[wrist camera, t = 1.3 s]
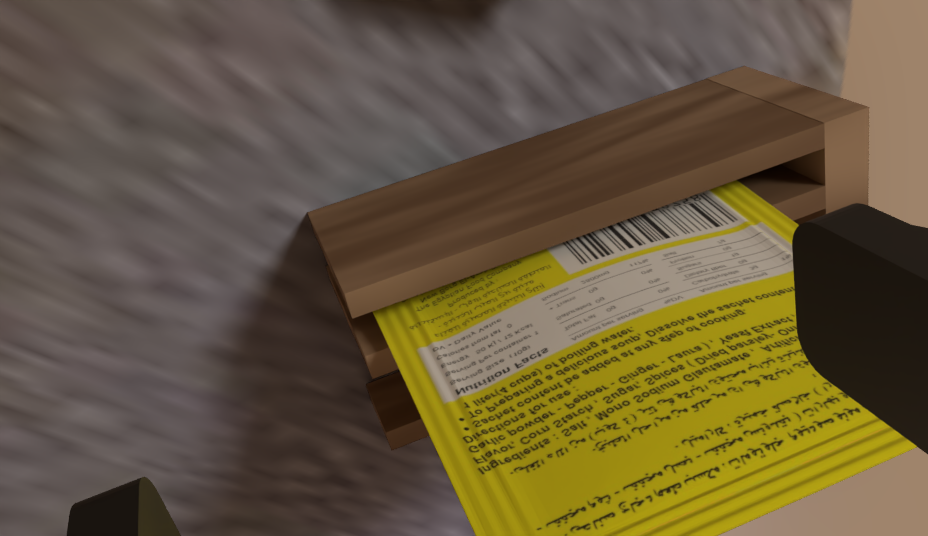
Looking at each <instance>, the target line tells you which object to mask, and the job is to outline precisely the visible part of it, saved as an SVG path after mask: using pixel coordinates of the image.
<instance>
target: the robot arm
mask: <svg viewBox="0 0 928 536" xmlns="http://www.w3.org/2000/svg"><path fill="white" fill-rule="evenodd" d="M792 252H793V271H794V289H795V307H796V325H797V334H798V339H799V342H800V345H801V348H802V350H803V352H804V354H805V356H806V358H807V359H808V361H809V362H810V364H811V365H812V366H813V368H814V369H815V370H816V371H817V372H818V373H819V374H820V375H821V376H822V377H823V378H825V379H826V380H827V381H829V382H830V383H831V384H833V385H834V386H835V387H837V388H838V389H840V390H841V391H842V392H844V393H845V394H846V395H848V396H849V397H850V398H852V399H853V400H855V401H856V402H857V403H859V404H860V405H861V406H863V407H864V408H865V409H867V410H868V411H870V412H871V413H872V414H874V415H875V416H876V417H878V418H879V419H880V420H882V421H883V422H885V423H886V424H887V425H889V426H890V427H891V428H893V429H894V430H895V431H897V432H898V433H900V434H901V435H902V436H904V437H905V438H906V439H908V440H909V441H910V442H912V443H913V444H914V445H916V446H917V447H919V448H920V449H921V450H923V451H924V452H926V453H927V454H928V228H925V227H920V226H914V225H910V224H908V223H906V222H904V221H901V220H899V219H897V218H895V217H892V216H890V215H888V214H886V213H883V212H881V211H879V210H877V209H875V208H872V207H870V206H868V205H865V204H861V203H855V204H851V205H848V206H846V207H843V208H841V209H838V210H835V211H833V212H830V213H828V214H825V215H823V216H820V217H817V218H815V219H812V220H810V221H807V222H804V223H802V224H800V225H799V226H798V227H797V228H796V230H795V232H794V234H793V239H792ZM67 536H181V535H180V533H179V531H178V529H177V528H176V526H175V524H174V522H173V520H172V518H171V516H170V514H169V512H168V510H167V509H166V507H165V505H164V503H163V501H162V499H161V497H160V495H159V493H158V492H157V490H156V488H155V487H154V485H153V484H152V482H151V481H150V480H149V479H148V478H146V477H142V478H139V479H137V480H134V481H132V482H129V483H126V484H124V485H121V486H119V487H116V488H113V489H111V490H108V491H106V492H103V493H101V494H98V495H95V496H93V497H90V498H88V499H85V500H82V501H80V502H77V503H75V504H74V505H73V506H72V508H71V510H70V515H69V522H68V530H67Z"/></svg>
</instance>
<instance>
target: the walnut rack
mask: <svg viewBox="0 0 928 536" xmlns="http://www.w3.org/2000/svg"><path fill="white" fill-rule="evenodd" d="M868 158H869V107H867V106H864V105H861V104H858V103H855V102H852V101H849V100H846V99H843V98H840V97H837V96H834V95H831V94H828V93H825V92H822V91H819V90H816V89H813V88H810V87H807V86H804V85H800V84H797V83H794V82H791V81H788V80H785V79H782V78H779V77H776V76H773V75H770V74H767V73H764V72H761V71H758V70H755V69H752V68H749V67H746V66H743V67H740V68H737V69H734V70H731V71H728V72H725V73H722V74H719V75H716V76H713V77H710V78H707V79H705V80H702V81H699V82H696V83H693V84H690V85H687V86H684V87H681V88H678V89H675V90H672V91H669V92H666V93H663V94H660V95H657V96H654V97H651V98H648V99H645V100H642V101H639V102H636V103H633V104H630V105H627V106H624V107H621V108H618V109H615V110H612V111H609V112H606V113H603V114H600V115H597V116H594V117H591V118H588V119H585V120H582V121H579V122H576V123H573V124H570V125H567V126H564V127H562V128H559V129H556V130H553V131H550V132H547V133H544V134H541V135H538V136H535V137H532V138H529V139H526V140H523V141H520V142H517V143H514V144H511V145H508V146H505V147H502V148H499V149H496V150H493V151H490V152H487V153H484V154H481V155H478V156H475V157H472V158H469V159H466V160H463V161H460V162H457V163H454V164H451V165H448V166H445V167H442V168H439V169H436V170H433V171H430V172H427V173H424V174H421V175H418V176H415V177H412V178H409V179H406V180H403V181H400V182H397V183H394V184H391V185H388V186H385V187H382V188H379V189H376V190H373V191H370V192H367V193H364V194H361V195H358V196H355V197H352V198H349V199H346V200H343V201H340V202H337V203H334V204H331V205H328V206H325V207H322V208H319V209H316V210H313V211H310V212H307V213H308V216H309V219H310V222H311V225H312V228H313V231H314V234H315V236H316V238H317V240H318V242H319V245H320V247H321V249H322V251H323V254H324V256H325V258H326V260H327V263H328V265H327V266H326V269H327V272H328V275H329V278H330V281H331V284H332V286H333V289H334V291H335V293H336V296H337V298H338V300H339V303H340V305H341V307H342V309H343V312H344V314H345V316H346V319H347V321H348V323H349V326H350V328H351V330H352V333H353V335H354V337H355V340H356V342H357V344H358V347H359V349H360V351H361V353H362V356H363V358H364V360H365V363H366V365H367V367H368V370H369V372H370V374H371V377H372V379H374V378H377V377H379V376H382V375H385V374H387V373H390V372H393V371H395V370H398V369H399V368H398V366H397V364H396V362H395V360H394V358H393V355H392V353H391V351H390V349H389V347H388V345H387V342H386V340H385V338H384V336H383V334H382V332H381V329H380V327H379V325H378V323H377V321H376V319H375V316H374V314H373V312H372V311H375V310H378V309H381V308H383V307H386V306H389V305H392V304H394V303H397V302H400V301H403V300H405V299H408V298H411V297H414V296H417V295H419V294H422V293H425V292H428V291H430V290H433V289H436V288H439V287H441V286H444V285H447V284H450V283H452V282H455V281H458V280H461V279H464V278H466V277H469V276H472V275H475V274H477V273H480V272H483V271H486V270H488V269H491V268H494V267H497V266H500V265H502V264H505V263H508V262H511V261H513V260H516V259H519V258H522V257H524V256H527V255H530V254H533V253H535V252H538V251H541V250H544V249H547V248H549V247H552V246H555V245H558V244H560V243H563V242H566V241H569V240H571V239H574V238H577V237H580V236H583V235H585V234H588V233H591V232H594V231H596V230H599V229H602V228H605V227H607V226H610V225H613V224H616V223H618V222H621V221H624V220H627V219H630V218H632V217H635V216H638V215H641V214H643V213H646V212H649V211H652V210H654V209H657V208H660V207H663V206H666V205H668V204H671V203H674V202H677V201H679V200H682V199H685V198H688V197H690V196H693V195H696V194H699V193H702V192H704V191H707V190H710V189H713V188H715V187H718V186H721V185H724V184H726V183H729V182H732V181H735V180H737V181H738V182H740V183H741V184H743V185H744V186H745V187H747V188H748V189H750V190H751V191H752V192H754V193H755V194H756V195H758V196H759V197H761V198H762V199H763V200H765V201H766V202H768V203H769V204H770V205H772V206H773V207H774V208H776V209H777V210H779V211H780V212H781V213H783V214H784V215H786V216H787V217H788V218H790V219H791V220H792V221H794V222H795V223H797V224H798V225H800V224H802V223H804V222H807V221H810V220H812V219H815V218H817V217H820V216H823V215H825V214H828V213H830V212H833V211H835V210H838V209H841V208H843V207H846V206H848V205H851V204H855V203H861V204H865V205H868V169H869V163H868V162H869V159H868ZM366 387H367V390H368V393H369V396H370V399H371V401H372V404H373V406H374V409H375V411H376V414H377V416H378V418H379V421H380V423H381V426H382V428H383V431H384V433H385V435H386V438H387V440H388V443H389V445H390V448H391V450H394V449H397V448H399V447H402V446H404V445H407V444H409V443H412V442H414V441H417V440H420V439H422V438H425V437H427V436H429V433H428V431H427V429H426V427H425V425H424V423H423V420H422V418H421V416H420V414H419V412H418V410H417V407H416V405H415V403H414V401H413V399H412V397H411V394H410V392H409V390H408V388H407V386H406V384H405V381H404V379H403V377H402V375H401V373H400V372H397V373H395V374H392V375H389V376H387V377H384V378H381V379H379V380H376V381H373V382H371V383H368V384H366Z"/></svg>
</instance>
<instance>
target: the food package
mask: <svg viewBox="0 0 928 536" xmlns="http://www.w3.org/2000/svg"><path fill="white" fill-rule="evenodd" d="M798 226H799V225H798V224H797V223H795V222H794V221H792V220H791V219H790V218H788V217H787V216H786V215H784V214H783V213H781V212H780V211H779V210H777V209H776V208H774V207H773V206H772V205H770V204H769V203H768V202H766V201H765V200H763V199H762V198H761V197H759V196H758V195H756V194H755V193H754V192H752V191H751V190H750V189H748V188H747V187H745V186H744V185H743V184H741V183H740V182H738V181H737V180H735V181H732V182H729V183H726V184H724V185H721V186H718V187H715V188H713V189H710V190H707V191H704V192H702V193H699V194H696V195H693V196H690V197H688V198H685V199H682V200H679V201H677V202H674V203H671V204H668V205H666V206H663V207H660V208H657V209H654V210H652V211H649V212H646V213H643V214H641V215H638V216H635V217H632V218H630V219H627V220H624V221H621V222H618V223H616V224H613V225H610V226H607V227H605V228H602V229H599V230H596V231H594V232H591V233H588V234H585V235H583V236H580V237H577V238H574V239H571V240H569V241H566V242H563V243H560V244H558V245H555V246H552V247H549V248H547V249H544V250H541V251H538V252H535V253H533V254H530V255H527V256H524V257H522V258H519V259H516V260H513V261H511V262H508V263H505V264H502V265H500V266H497V267H494V268H491V269H488V270H486V271H483V272H480V273H477V274H475V275H472V276H469V277H466V278H464V279H461V280H458V281H455V282H452V283H450V284H447V285H444V286H441V287H439V288H436V289H433V290H430V291H428V292H425V293H422V294H419V295H417V296H414V297H411V298H408V299H405V300H403V301H400V302H397V303H394V304H392V305H389V306H386V307H383V308H381V309H378V310H375V311H372V312H373V314H374V316H375V319H376V321H377V323H378V325H379V327H380V329H381V332H382V334H383V336H384V338H385V340H386V342H387V345H388V347H389V349H390V351H391V353H392V355H393V358H394V360H395V362H396V364H397V366H398V368H399V371H400V373H401V375H402V377H403V379H404V381H405V384H406V386H407V388H408V390H409V392H410V394H411V397H412V399H413V401H414V403H415V405H416V407H417V410H418V412H419V414H420V416H421V418H422V420H423V423H424V425H425V427H426V429H427V431H428V433H429V436H430V438H431V440H432V442H433V444H434V446H435V449H436V451H437V453H438V455H439V457H440V459H441V462H442V464H443V466H444V468H445V470H446V472H447V475H448V477H449V479H450V481H451V483H452V485H453V488H454V490H455V492H456V494H457V496H458V498H459V501H460V503H461V505H462V507H463V509H464V511H465V514H466V516H467V518H468V520H469V522H470V524H471V527H472V529H473V531H474V533H475V535H476V536H718V535H720V534H722V533H725V532H727V531H729V530H731V529H734V528H736V527H738V526H741V525H743V524H745V523H747V522H750V521H752V520H754V519H757V518H758V517H761V516H763V515H765V514H768V513H770V512H772V511H775V510H777V509H779V508H782V507H784V506H786V505H788V504H790V503H793V502H795V501H797V500H800V499H802V498H804V497H807V496H809V495H811V494H813V493H816V492H818V491H820V490H822V489H825V488H827V487H829V486H831V485H834V484H836V483H838V482H840V481H843V480H845V479H847V478H849V477H851V476H854V475H856V474H858V473H860V472H863V471H865V470H867V469H869V468H872V467H874V466H876V465H878V464H881V463H883V462H885V461H887V460H889V459H892V458H894V457H896V456H898V455H901V454H903V453H905V452H907V451H910V450H912V449H914V448H916V447H917V446H916V445H914V444H913V443H912V442H910V441H909V440H908V439H906V438H905V437H904V436H902V435H901V434H900V433H898V432H897V431H895V430H894V429H893V428H891V427H890V426H889V425H887V424H886V423H885V422H883V421H882V420H880V419H879V418H878V417H876V416H875V415H874V414H872V413H871V412H870V411H868V410H867V409H865V408H864V407H863V406H861V405H860V404H859V403H857V402H856V401H855V400H853V399H852V398H850V397H849V396H848V395H846V394H845V393H844V392H842V391H841V390H840V389H838V388H837V387H835V386H834V385H833V384H831V383H830V382H829V381H827V380H826V379H825V378H823V377H822V376H821V375H820V374H819V373H818V372H817V371H816V370H815V369H814V368H813V366H812V365H811V364H810V362H809V361H808V359H807V358H806V356H805V354H804V352H803V350H802V348H801V345H800V342H799V339H798V334H797V325H796V307H795V289H794V271H793V252H792V239H793V234H794V232H795V230H796V228H797V227H798Z"/></svg>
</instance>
